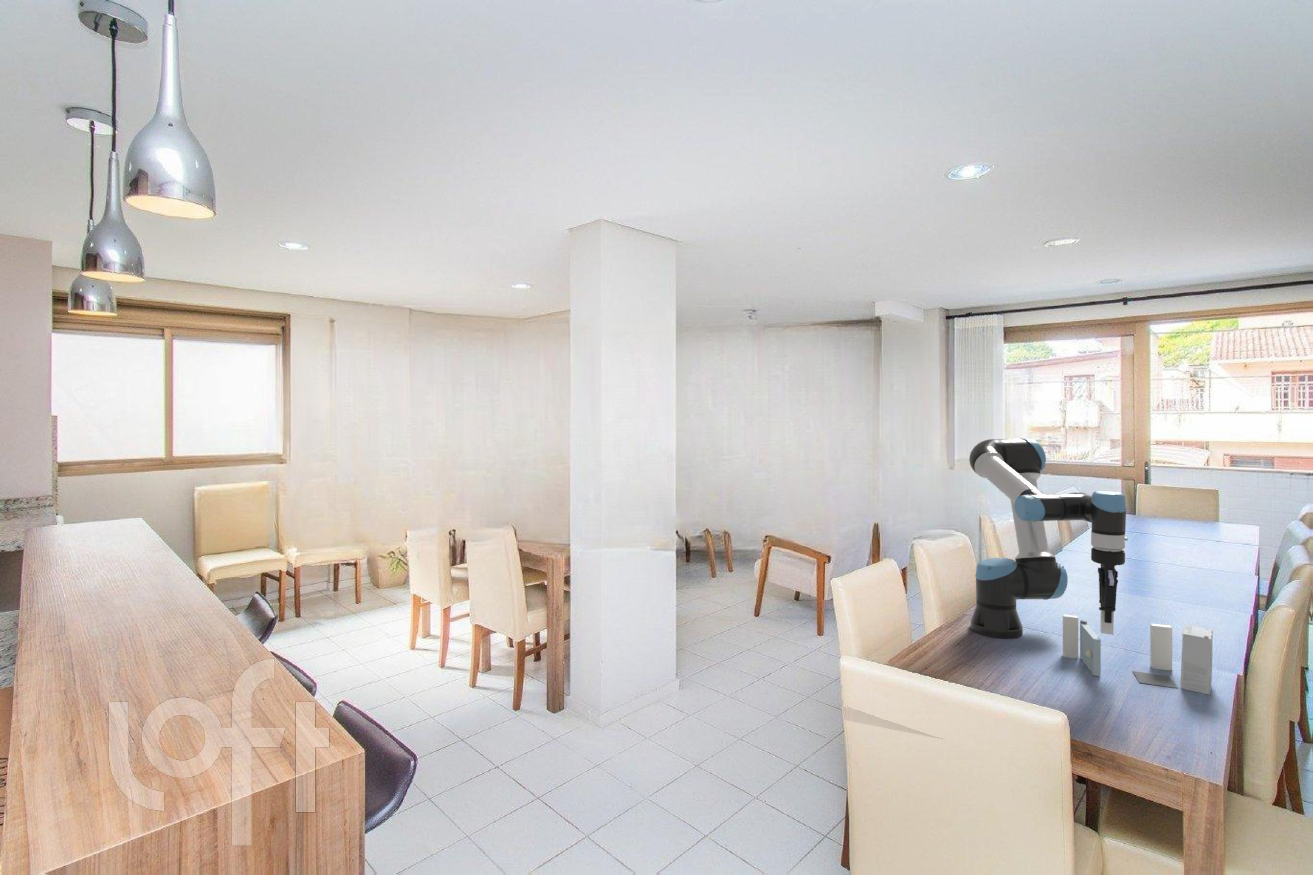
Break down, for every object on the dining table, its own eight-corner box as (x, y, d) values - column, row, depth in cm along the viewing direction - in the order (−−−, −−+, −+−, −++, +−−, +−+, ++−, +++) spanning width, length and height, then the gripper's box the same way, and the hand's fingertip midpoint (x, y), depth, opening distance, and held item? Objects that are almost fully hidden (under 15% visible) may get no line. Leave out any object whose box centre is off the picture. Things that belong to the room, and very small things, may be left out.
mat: (1139, 683, 165) (1139, 682, 165) (1132, 671, 172) (1132, 670, 172) (1177, 688, 161) (1177, 687, 161) (1169, 676, 168) (1169, 675, 168)
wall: (1063, 656, 184) (1063, 616, 183) (1062, 654, 185) (1062, 614, 185) (1172, 670, 172) (1172, 627, 172) (1170, 667, 174) (1170, 625, 173)
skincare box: (1182, 678, 167) (1182, 623, 167) (1212, 684, 163) (1213, 628, 162) (1180, 689, 161) (1180, 632, 160) (1211, 695, 157) (1212, 637, 156)
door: (1073, 655, 184) (1073, 619, 183) (1086, 656, 183) (1086, 620, 182) (1087, 674, 170) (1087, 636, 170) (1100, 676, 169) (1100, 637, 169)
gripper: (1130, 554, 163) (1128, 643, 164) (1120, 544, 175) (1118, 627, 176) (1095, 552, 167) (1094, 639, 168) (1087, 542, 178) (1086, 623, 179)
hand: (1106, 632), depth 172 cm, fingers closed
